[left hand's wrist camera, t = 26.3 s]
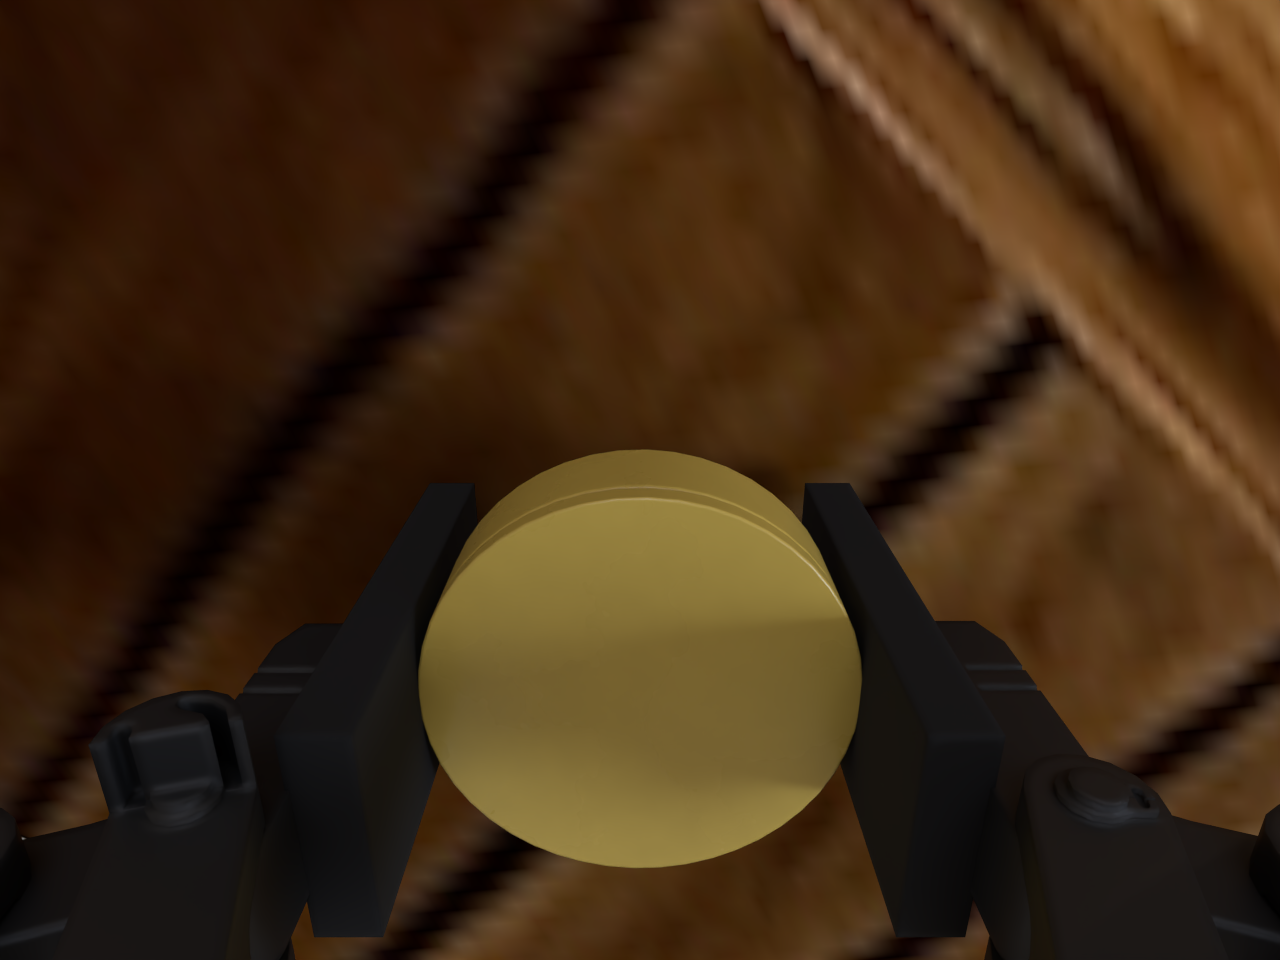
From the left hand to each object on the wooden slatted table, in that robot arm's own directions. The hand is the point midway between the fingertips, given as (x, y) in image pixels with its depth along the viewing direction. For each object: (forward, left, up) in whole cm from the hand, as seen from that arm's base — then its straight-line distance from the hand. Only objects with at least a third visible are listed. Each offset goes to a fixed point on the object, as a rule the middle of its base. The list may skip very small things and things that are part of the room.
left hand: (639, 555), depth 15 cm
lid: (0, 0, +4) cm, 4 cm away
